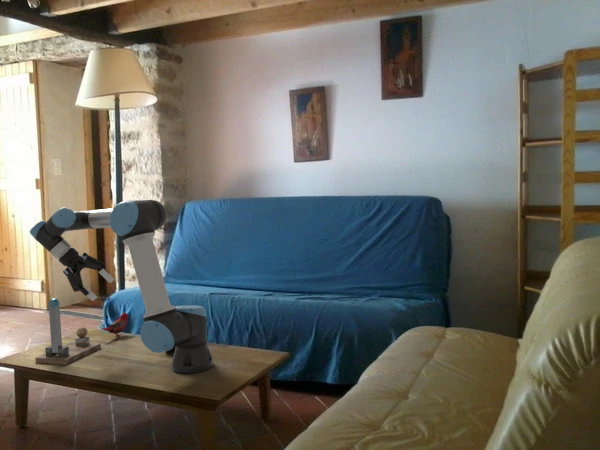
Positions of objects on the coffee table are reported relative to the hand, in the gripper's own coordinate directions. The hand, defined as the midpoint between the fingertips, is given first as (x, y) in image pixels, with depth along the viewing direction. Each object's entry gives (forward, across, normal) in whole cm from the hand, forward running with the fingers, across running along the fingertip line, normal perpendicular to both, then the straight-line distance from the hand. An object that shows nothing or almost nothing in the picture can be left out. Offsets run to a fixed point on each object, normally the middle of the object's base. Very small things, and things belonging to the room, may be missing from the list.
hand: (104, 290), depth 222 cm
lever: (+5, +19, -22) cm, 30 cm away
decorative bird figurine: (+20, -11, -27) cm, 36 cm away
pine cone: (+40, 0, +6) cm, 40 cm away
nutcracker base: (+10, +14, -25) cm, 30 cm away
